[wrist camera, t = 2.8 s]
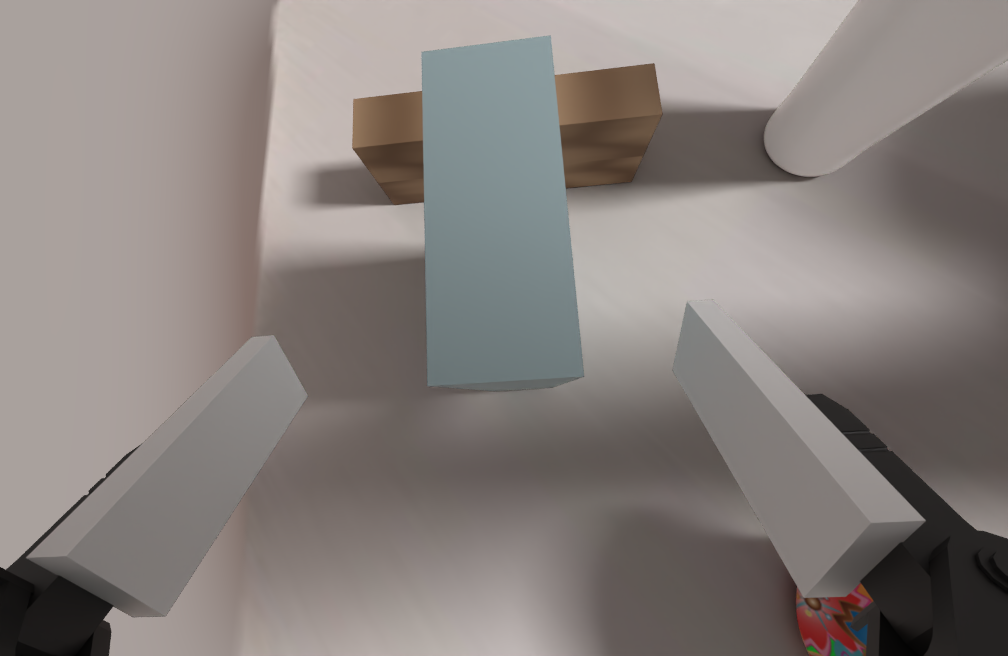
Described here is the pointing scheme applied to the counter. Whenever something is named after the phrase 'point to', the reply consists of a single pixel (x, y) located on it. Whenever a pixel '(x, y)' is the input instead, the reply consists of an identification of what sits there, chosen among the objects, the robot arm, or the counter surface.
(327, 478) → the counter surface
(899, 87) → the drinking glass
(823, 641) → the mug
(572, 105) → the wooden u-shaped block
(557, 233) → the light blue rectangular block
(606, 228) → the counter surface
